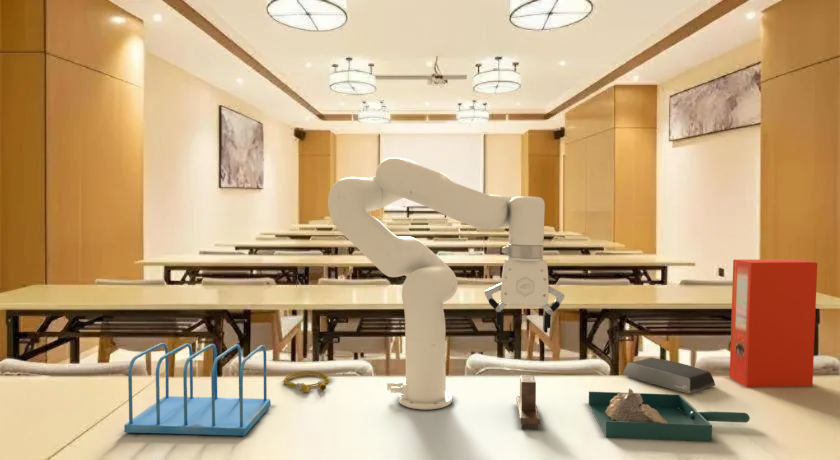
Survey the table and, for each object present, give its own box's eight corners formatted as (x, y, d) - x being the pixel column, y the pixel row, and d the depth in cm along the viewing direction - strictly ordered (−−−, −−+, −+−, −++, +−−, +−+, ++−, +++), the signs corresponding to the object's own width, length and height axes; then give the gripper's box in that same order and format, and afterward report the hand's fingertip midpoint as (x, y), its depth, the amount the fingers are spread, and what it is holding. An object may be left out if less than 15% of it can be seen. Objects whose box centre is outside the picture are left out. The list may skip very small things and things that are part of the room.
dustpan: (605, 437, 117) (605, 421, 117) (588, 405, 136) (588, 391, 136) (771, 443, 114) (771, 427, 114) (730, 410, 133) (730, 396, 133)
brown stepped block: (520, 429, 121) (520, 388, 121) (516, 406, 135) (516, 369, 135) (540, 430, 121) (540, 389, 120) (533, 406, 135) (534, 369, 134)
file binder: (813, 386, 150) (817, 262, 148) (747, 387, 149) (751, 262, 147) (791, 377, 158) (795, 259, 156) (729, 378, 157) (732, 259, 155)
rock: (656, 440, 115) (657, 404, 115) (599, 417, 127) (599, 385, 127) (675, 434, 118) (676, 399, 118) (617, 412, 130) (618, 381, 130)
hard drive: (687, 396, 142) (687, 379, 142) (620, 376, 158) (621, 361, 158) (717, 386, 149) (717, 370, 149) (650, 368, 166) (650, 354, 165)
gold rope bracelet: (275, 393, 144) (275, 385, 144) (289, 374, 160) (289, 367, 160) (325, 393, 144) (325, 385, 144) (334, 374, 160) (334, 367, 160)
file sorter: (123, 434, 118) (121, 359, 118) (164, 404, 136) (163, 339, 135) (245, 436, 117) (244, 361, 117) (271, 406, 135) (270, 340, 134)
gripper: (485, 253, 125) (483, 332, 126) (568, 255, 123) (565, 336, 124) (485, 250, 133) (483, 324, 134) (563, 252, 131) (560, 328, 132)
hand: (522, 330), depth 129 cm, fingers open, 9 cm apart
